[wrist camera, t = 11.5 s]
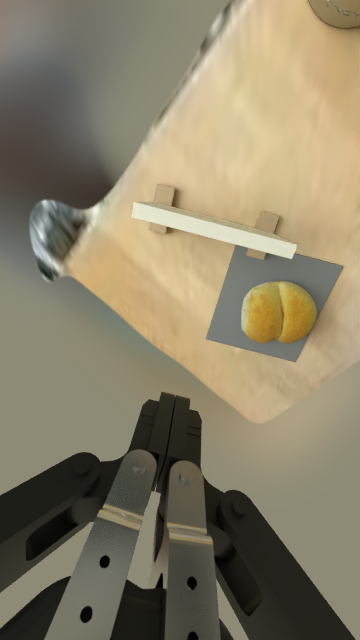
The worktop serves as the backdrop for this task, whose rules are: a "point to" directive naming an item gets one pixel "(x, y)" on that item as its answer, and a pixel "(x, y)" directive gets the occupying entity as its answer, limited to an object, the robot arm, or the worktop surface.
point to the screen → (213, 225)
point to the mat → (256, 271)
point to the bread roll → (277, 312)
